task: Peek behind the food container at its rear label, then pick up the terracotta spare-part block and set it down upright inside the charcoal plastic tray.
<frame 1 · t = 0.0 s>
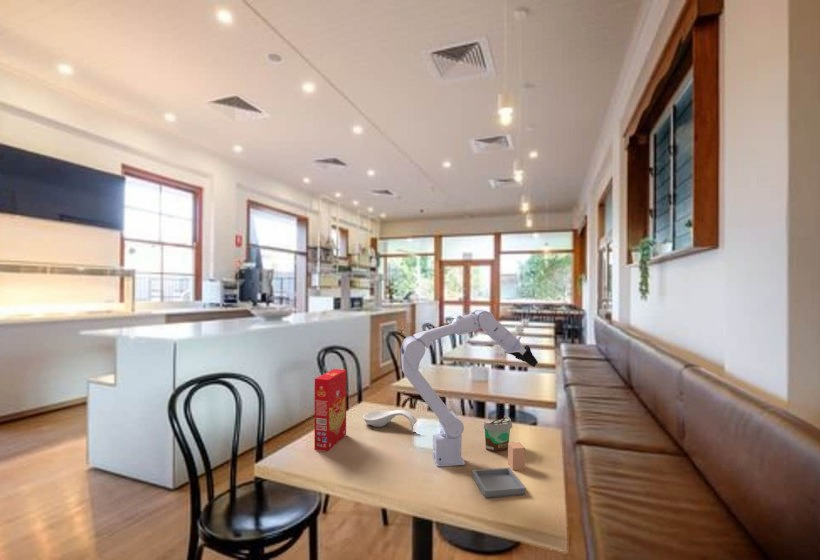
hand: (530, 361, 138), 32 cm above the table, tool tilted 50°, fingers open, 7 cm apart
food packaging: (330, 442, 148), on the table
spoon rest: (390, 427, 164), on the table
tray: (497, 485, 119), on the table
food container: (501, 449, 143), on the table
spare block: (516, 466, 130), on the table
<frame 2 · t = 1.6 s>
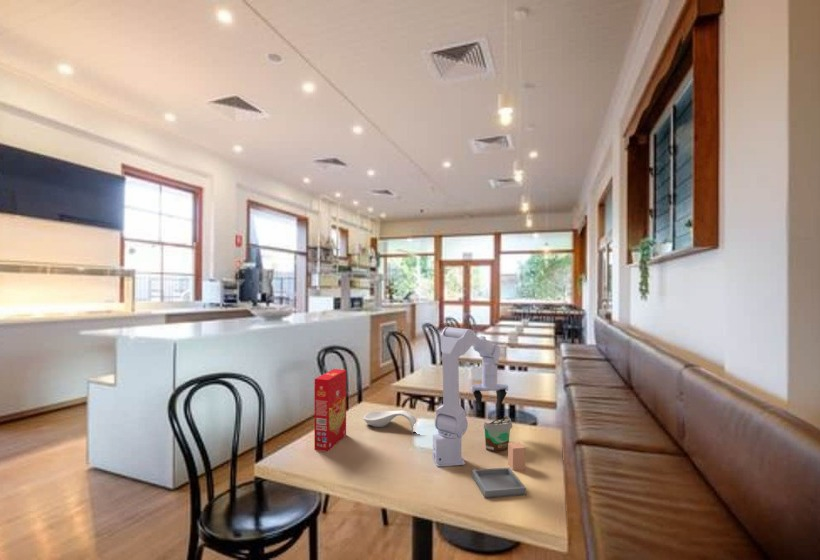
hand: (489, 409, 156), 10 cm above the table, tool pointing down, fingers open, 7 cm apart
nothing on the table moved.
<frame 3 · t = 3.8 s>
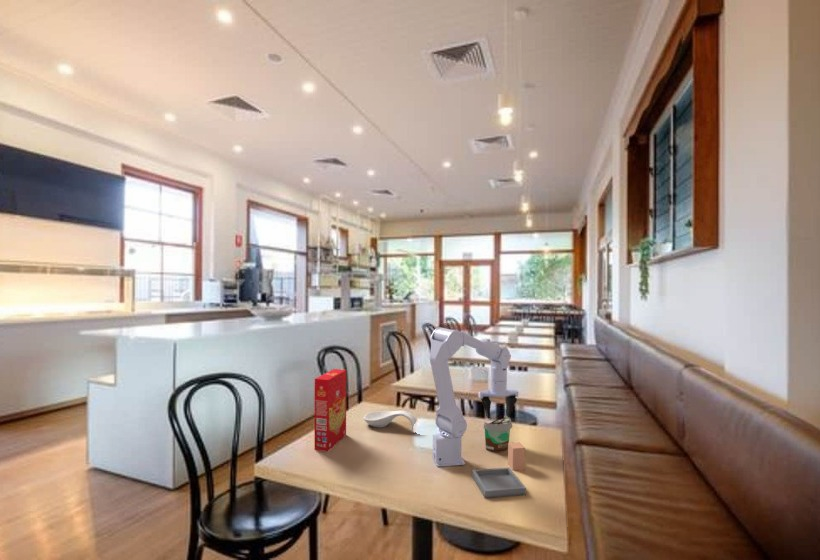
hand: (498, 416, 146), 10 cm above the table, tool pointing down, fingers open, 7 cm apart
nothing on the table moved.
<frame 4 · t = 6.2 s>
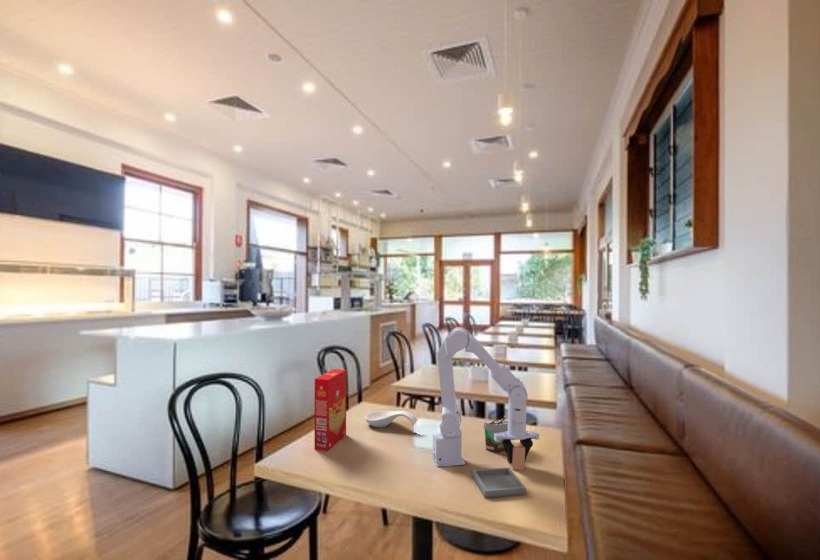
hand: (516, 461, 130), 2 cm above the table, tool pointing down, fingers closed on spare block, 4 cm apart
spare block: (516, 466, 130), on the table, touching gripper
everything else where it was.
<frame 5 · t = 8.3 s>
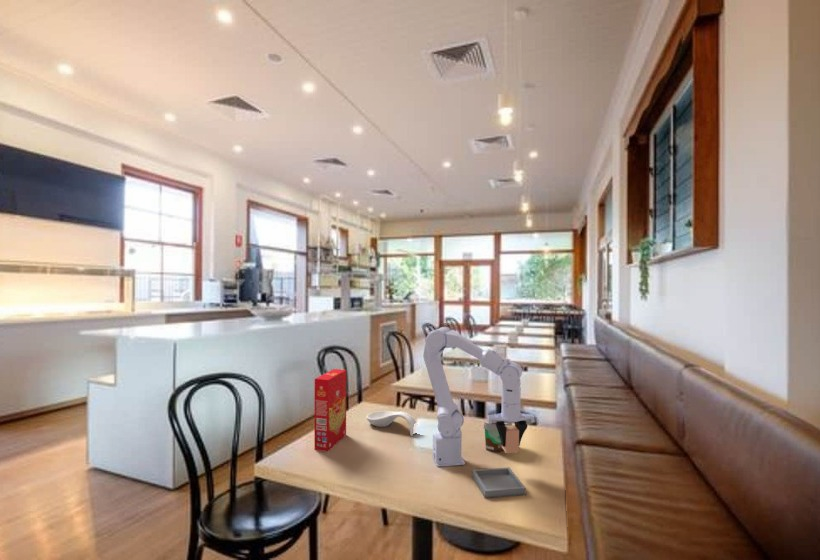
hand: (510, 444, 126), 9 cm above the table, tool pointing down, fingers closed on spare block, 4 cm apart
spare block: (510, 450, 126), point 7 cm above the table, touching gripper
when the fingers open (4 cm above the table, at t = 10.2 s): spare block drops 1 cm, resting on tray.
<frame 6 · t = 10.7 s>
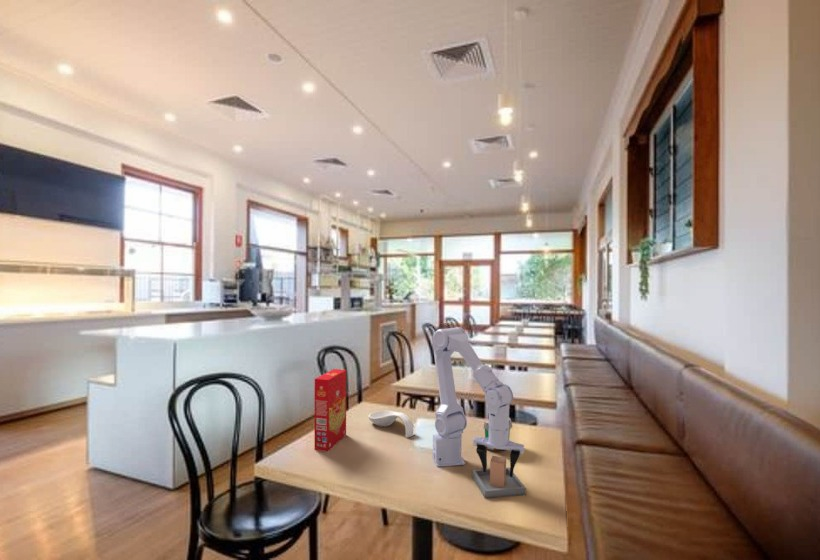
hand: (498, 472, 119), 4 cm above the table, tool pointing down, fingers open, 7 cm apart
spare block: (498, 483, 119), point 1 cm above the table, touching tray
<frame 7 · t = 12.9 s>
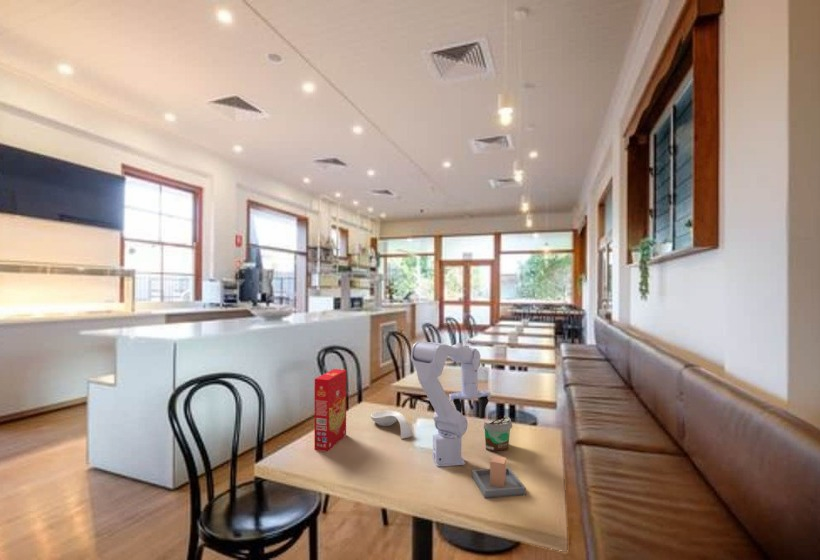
hand: (470, 418, 145), 10 cm above the table, tool pointing down, fingers open, 7 cm apart
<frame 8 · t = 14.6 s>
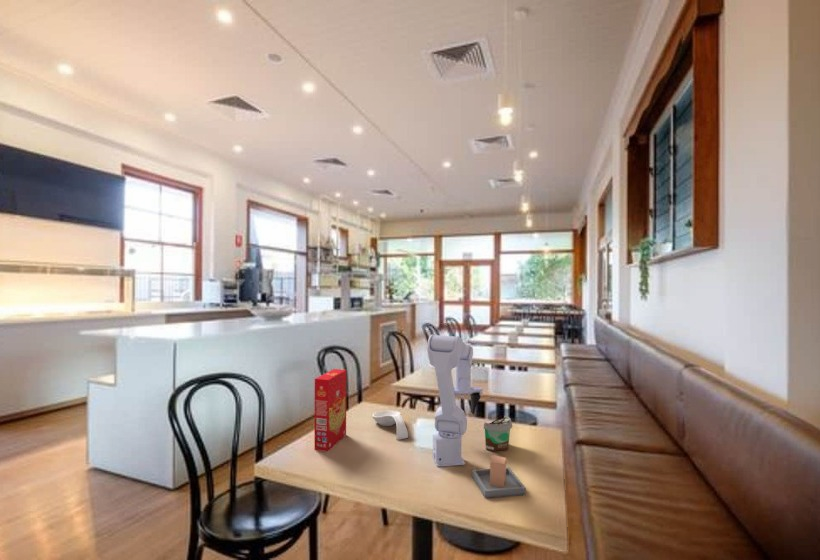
hand: (462, 413, 149), 10 cm above the table, tool pointing down, fingers open, 7 cm apart
at the end: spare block inside the target area on the tray (0.1 cm from its centre), point 0.6 cm above the tray's base; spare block tilted 0°; the gripper is holding nothing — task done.
